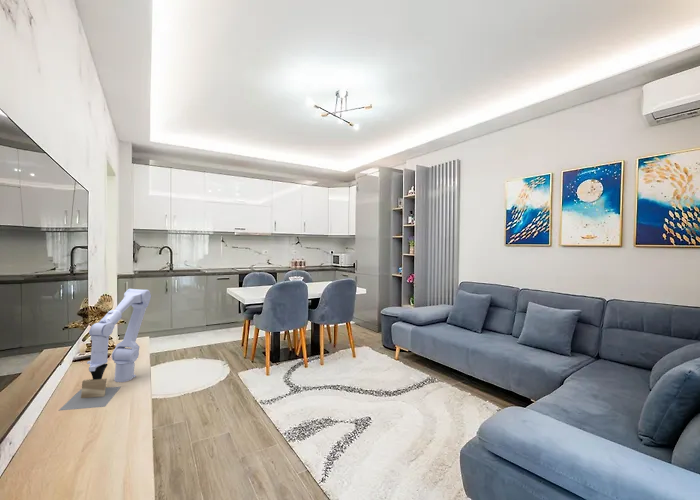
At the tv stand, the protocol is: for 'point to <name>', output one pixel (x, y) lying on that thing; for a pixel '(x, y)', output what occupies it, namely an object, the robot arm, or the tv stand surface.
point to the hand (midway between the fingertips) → (97, 382)
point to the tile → (93, 388)
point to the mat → (90, 400)
